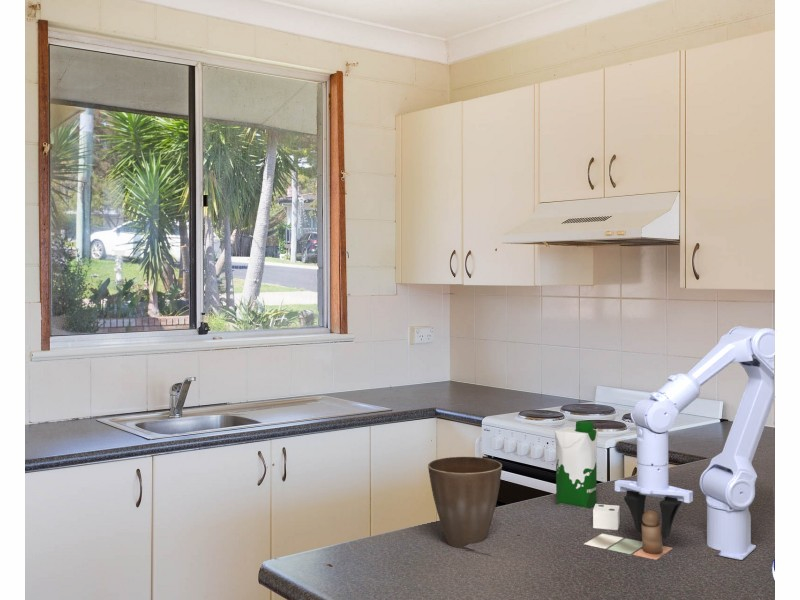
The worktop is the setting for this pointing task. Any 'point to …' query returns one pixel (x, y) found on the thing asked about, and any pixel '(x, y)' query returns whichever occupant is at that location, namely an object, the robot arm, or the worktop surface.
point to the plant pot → (465, 496)
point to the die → (606, 516)
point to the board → (624, 546)
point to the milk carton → (576, 465)
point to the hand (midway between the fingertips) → (652, 534)
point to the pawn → (651, 532)
